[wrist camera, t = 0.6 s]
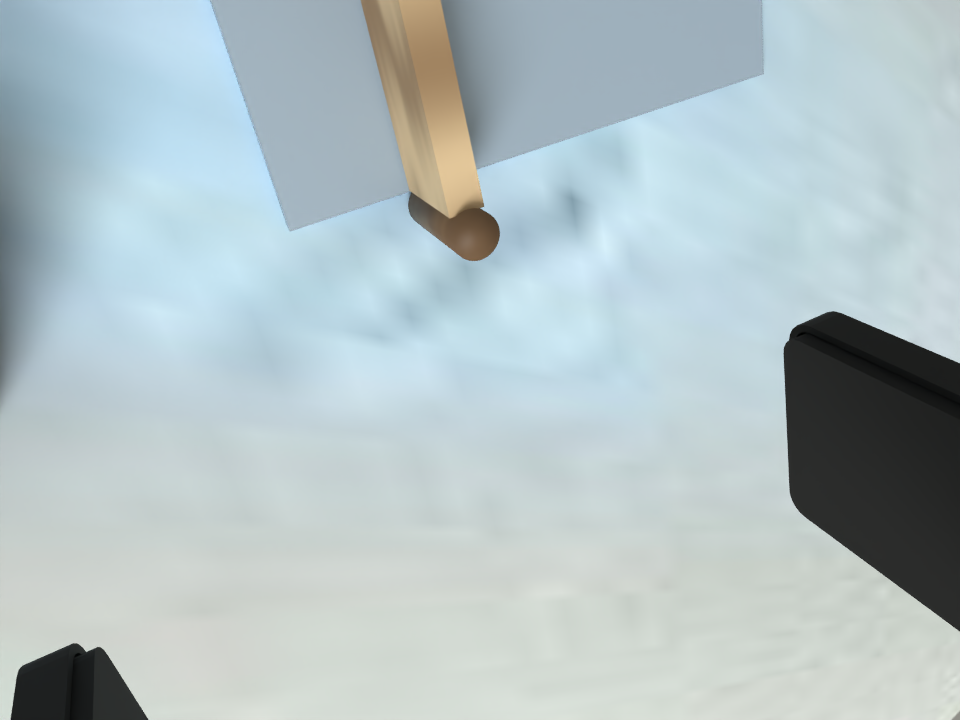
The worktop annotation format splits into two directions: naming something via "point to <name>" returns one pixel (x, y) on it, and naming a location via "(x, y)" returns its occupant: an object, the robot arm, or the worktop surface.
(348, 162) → the card
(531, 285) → the worktop surface
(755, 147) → the worktop surface
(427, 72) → the fence panel
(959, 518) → the robot arm
